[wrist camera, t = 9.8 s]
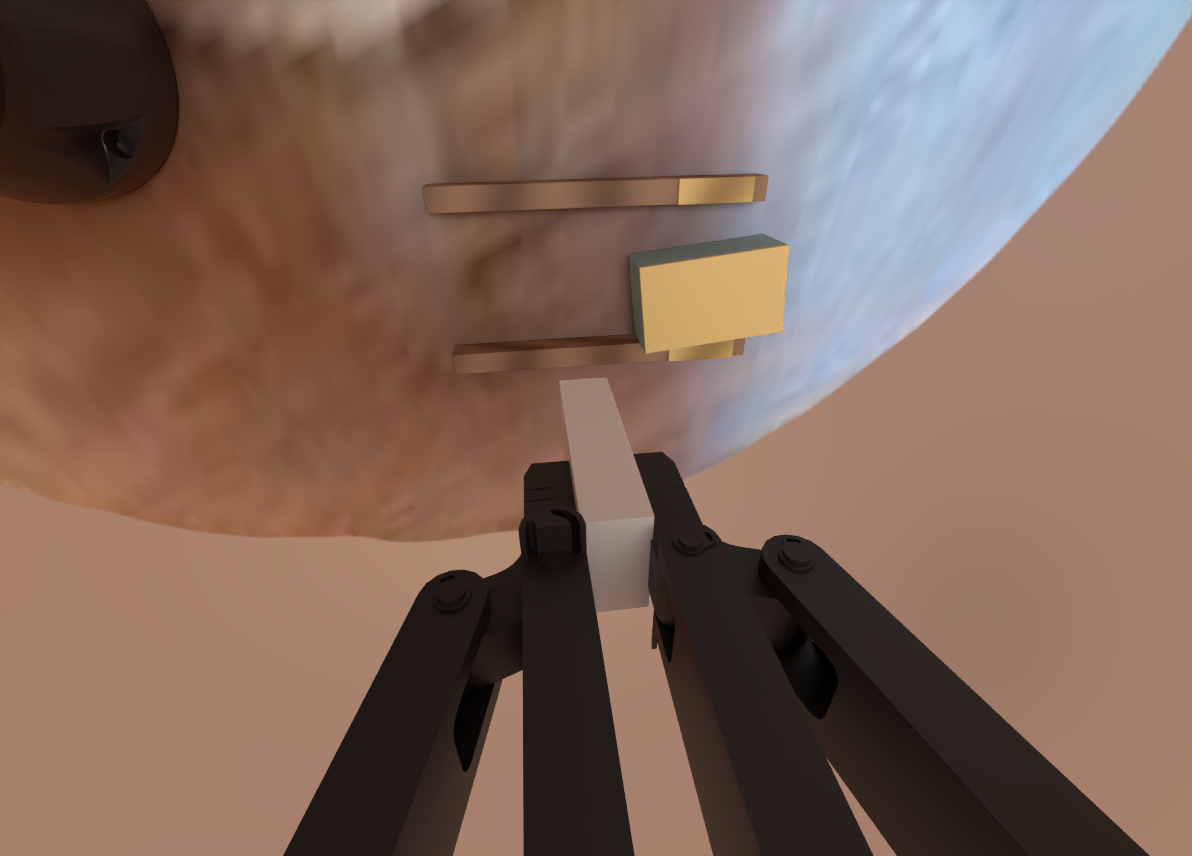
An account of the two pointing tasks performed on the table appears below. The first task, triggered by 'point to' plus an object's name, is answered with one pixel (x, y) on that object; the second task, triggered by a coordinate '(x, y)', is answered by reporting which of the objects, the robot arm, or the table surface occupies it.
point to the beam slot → (585, 196)
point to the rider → (708, 292)
